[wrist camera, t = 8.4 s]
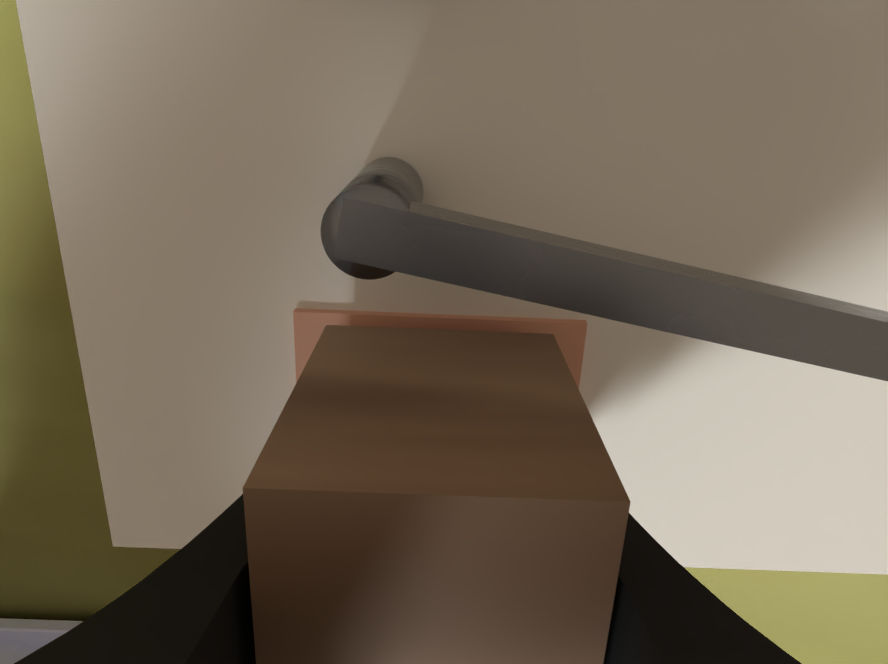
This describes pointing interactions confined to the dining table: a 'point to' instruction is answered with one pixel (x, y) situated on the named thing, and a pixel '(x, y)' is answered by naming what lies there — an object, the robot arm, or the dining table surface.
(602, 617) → the walnut block
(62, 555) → the dining table surface
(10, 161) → the dining table surface
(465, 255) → the bent wire
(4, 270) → the dining table surface
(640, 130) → the board
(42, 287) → the dining table surface
